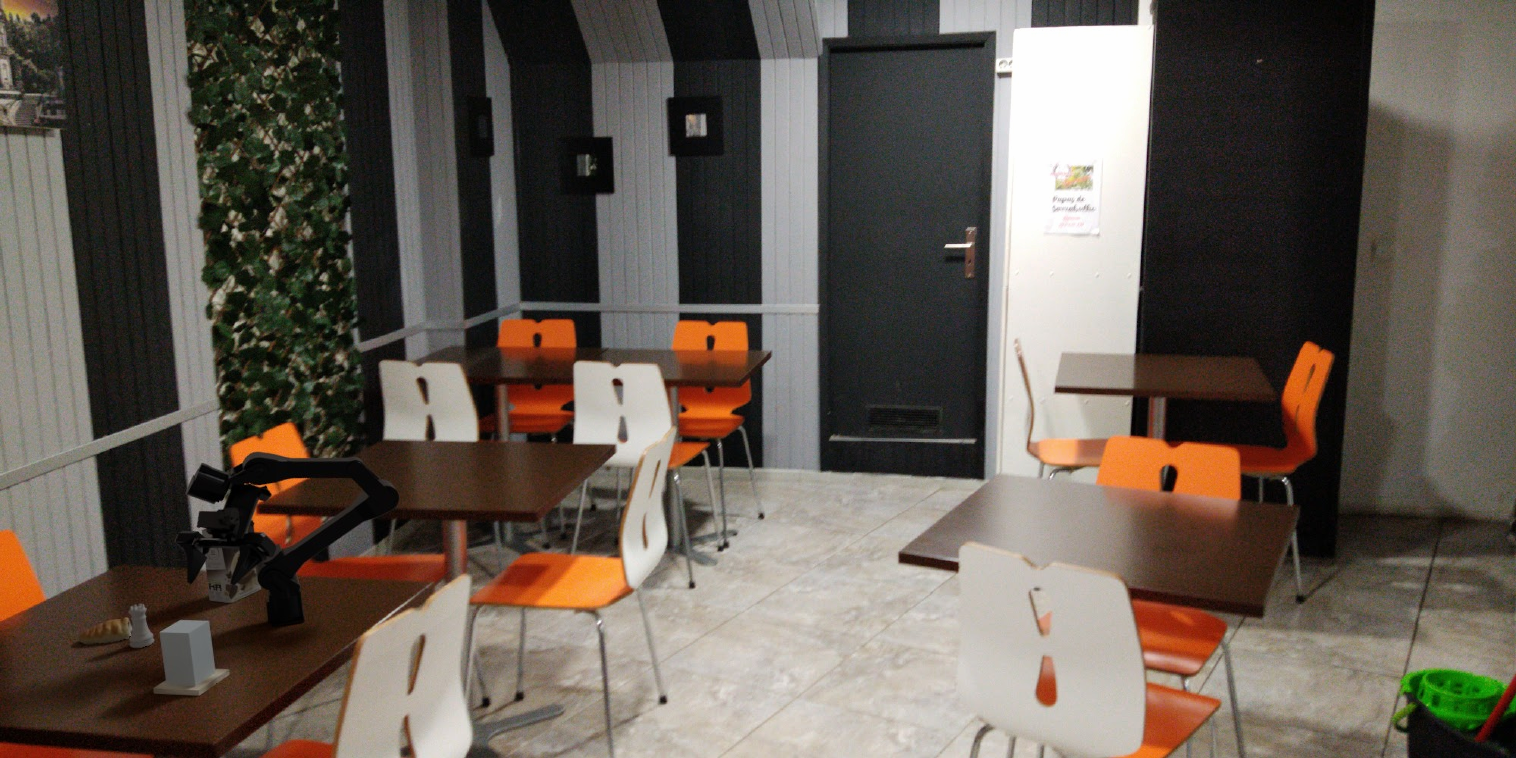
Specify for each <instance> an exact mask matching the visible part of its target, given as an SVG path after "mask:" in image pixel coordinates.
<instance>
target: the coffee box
mask: <svg viewBox="0 0 1516 758" xmlns="http://www.w3.org/2000/svg"><path fill="white" fill-rule="evenodd" d="M252 521H253V522H254V520H253V519H252ZM254 526H255V525H254ZM254 526H253V528H248V531H247V533H248V532H255V527H254ZM206 531H207V529H206V528H203V529H201V534H202V535H203V536H204V537H205V538H212V536H213V535H211V534H208V533H207V532H206ZM205 556H206V557H207V560H206V561H205V563H204V565H205V569H206V570H205V572H206V579H207V588H208V597H209V598H208V599H209V601H210V602H218V603H226V604H233V603H235V602H237V601H239V600H241V599H243V598H246V597H248V596H250V595H252V594H254V593H257V592H259V591H260V590H262V587H261V586H260V585H259V583H258V579H257V574H256V566H255V567H254V568H253V569H252V570H250V571H249V572H248V573H247V574H246V575H245V576H244V577H243V578H242V579H241V580H240V581H239V582H238V583H237V584H236V585H232V584H231V578H232V575H233V572H234V569H235V567H236V564H237V561H238V559H239V556H240V552H239V549H235V548H210V550H209V552H208V553H207V554H205Z"/></svg>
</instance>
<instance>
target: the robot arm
mask: <svg viewBox="0 0 1516 758" xmlns="http://www.w3.org/2000/svg"><path fill="white" fill-rule="evenodd" d="M292 479H351V480H353V482H355V484H357V485H358V487H359V488H360V489H361V490H362V491H361V492H360V494H359V495H358V496H357V497H356V499H355V500H354V501H353V502H352V503H351V504H350V505H349V506H348V507H346V508H345V509H344V510H342V511H340V512H339V513H338V514H335V516H333V517H332V518H330V519H329V520H328V521H326V522H325V523H324V524H323V523H322V525H320V526H318V527H317V528H316V529H314V530H313V531H311V532H310V533H308V534H307V535H306V536H304V537H302V538H301V539H300V540H297V542H295V543H293V544H292V545H289V546H287V547H283V548H282V546H281V543H277V544H276V543H275V542H274V540H273V539H272V538H270V537H269V536H268V534H266V533H265V532H264V531H263V532H262V531H254V532H248V533H247V531H248V528H253V526H255V522H254V520H253V516H254V514H255V512H256V509H257V506H258V503H259V502H260V501H261V502H264V503H266V502H268V501H269V499H271V497H272V496H273V494H272V493H271V491H270V490H269V489H268V486H267V485H269V484H271V485H272V484H276V483H278V482H283V481H285V480H292ZM228 491H229V493H228ZM227 493H228V495H227ZM185 495H186V496H189V497H192V498H194V499H198V500H199V501H203V502H206V503H209V504H211V505H215V504H216V503H220V502H223V501H224V499H225V498H226V500H225V503H224V505H223V508H221V509H220V508H219V509H217V510H212V511H211V510H199V511H198V517H197V521H196V528H198V529H201V528H203V529H207V531H206V532H207V533H208V534H211V535H213V536H212V538H205V537H204V536H203V535H202V532H200V531H197V530H196V531H194V530H182V531H180V532H178V534H177V535H176V537H175V540H174V544H175V545H176V546H178V547H179V549H180V550H182V551H183V552H184V554H185V555H186V583H188V585H192V584H193V583H194V582H195V581H196V579H197V577H198V576H199V574H200V572H201V570H202V568H203V566H204V565H205V561H206V560H207V557H206V556H205V554H207V553H208V552H209V550H210V548H235V549H239V552H240V556H239V559H238V561H237V564H236V567H235V569H234V572H233V575H232V578H231V584H232V585H236V584H237V583H238V582H239V581H240V580H241V579H242V578H243V577H244V576H245V575H246V574H247V573H248V572H249V571H250V570H252V569H253V568H254V567H255V566H256V574H257V579H258V583H259V585H260V586H261V589H264V590H266V591H267V595H268V598H266V599H265V606H266V616H267V621H268V622H269V623H270V627H271V628H274V627H280V626H287V625H292V624H297V623H298V624H299V623H303V622H305V621H306V620H305V619H306V617H305V609H304V608H303V607H304V606H303V598H302V590H301V588H302V587H301V584H300V581H299V577H298V572H299V570H300V569H301V568H302V567H303V565H304V564H306V563H307V562H308V561H309V560H311V559H313V558H314V557H315V556H317V555H318V554H319V553H321V552H322V551H324V550H326V549H327V548H328V547H329V546H331V545H333V543H335V542H337V541H338V540H340V539H341V538H342V537H344V536H345V535H347V534H349V533H350V532H351V531H352V530H354V529H356V528H357V527H358V526H359V525H361V524H363V523H365V522H368V521H371V520H374V519H377V518H380V517H382V516H384V515H386V514H388V513H391V512H392V511H393V510H394V509H396V508H397V507H398V505H399V500H400V495H399V492H398V490H397V489H396V488H395V486H394V484H393V483H391V482H390V480H387V479H384V478H383V479H382V478H379V476H377V474H376V473H374V472H373V471H372V470H371V469H370V468H369V467H368V466H367V465H365V464H364V462H363V460H362V459H361V458H359V457H358V456H350V457H289V456H284V455H280V454H276V453H270V452H264V451H253V452H250V453H248V454H247V456H245V458H244V459H243V461H242V462H241V463H239V464H237V465H235V466H234V467H232V468H230V469H228V470H227V471H225V470H224V471H223V470H221V469H218V468H215V467H213V466H211V465H209V464H207V463H205V462H201V463H200V465H199V467H198V468H197V470H196V472H195V473H194V474H192V476H191V479H190V482H189V483H188V486H187V488H186V490H185ZM226 495H227V497H226ZM252 520H253V521H252Z"/></svg>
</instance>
